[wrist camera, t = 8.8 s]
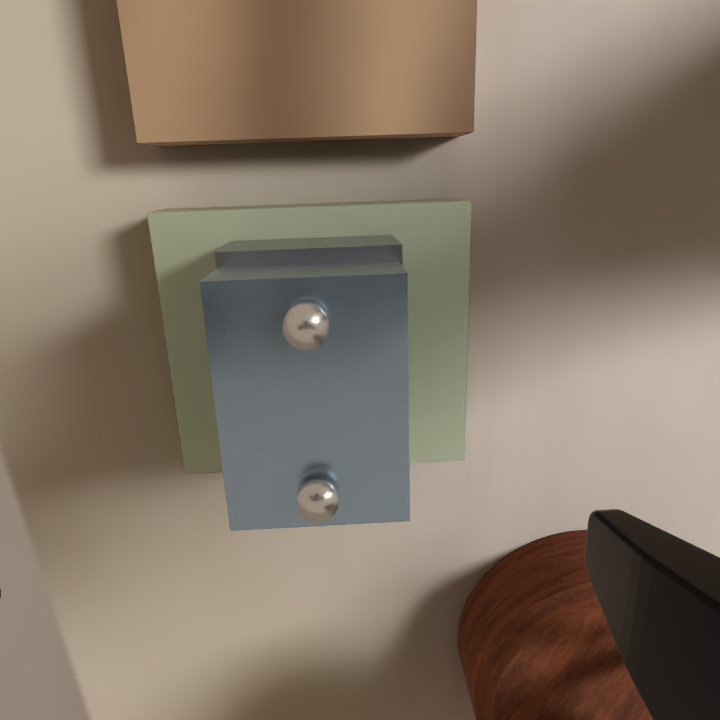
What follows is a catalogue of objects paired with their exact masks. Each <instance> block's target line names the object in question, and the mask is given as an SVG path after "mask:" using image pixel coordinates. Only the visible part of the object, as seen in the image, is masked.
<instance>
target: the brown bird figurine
mask: <svg viewBox="0 0 720 720" xmlns="http://www.w3.org/2000/svg"><path fill="white" fill-rule="evenodd" d="M586 539H587V530H583V531H572V532H565V533H560V534H556V535H552V536H549V537H545V538H542V539H540V540H537V541H534V542H532V543H530V544H528V545H525V546H524V547H522V548H520V549H518V550H516V551H515V552H513V553H511V554H510V555H508V556H507V557H505V558H504V559H503V560H501V561H500V562H499V563H498V564H496V565H495V566H494V567H493V568H492V569H491V570H490V571H489V572H488V573H487V574H486V575H485V576H484V577H483V578H482V579H481V580H480V582H479V583H478V584H477V586H476V587H475V588H474V590H473V591H472V593H471V595H470V596H469V598H468V600H467V602H466V604H465V607H464V609H463V612H462V615H461V619H460V623H459V629H458V648H459V654H460V658H461V662H462V666H463V669H464V673H465V677H466V681H467V685H468V689H469V693H470V697H471V700H472V704H473V708H474V712H475V716H476V719H477V720H653V719H652V717H651V715H650V713H649V711H648V709H647V707H646V705H645V704H644V702H643V700H642V698H641V696H640V694H639V692H638V690H637V688H636V687H635V685H634V683H633V681H632V679H631V677H630V675H629V673H628V671H627V669H626V667H625V664H624V662H623V660H622V657H621V655H620V653H619V650H618V648H617V645H616V643H615V641H614V638H613V636H612V633H611V631H610V628H609V626H608V623H607V621H606V618H605V616H604V613H603V611H602V608H601V606H600V603H599V601H598V598H597V596H596V594H595V591H594V589H593V586H592V584H591V581H590V579H589V576H588V574H587V570H586V566H585V548H586Z"/></svg>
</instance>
